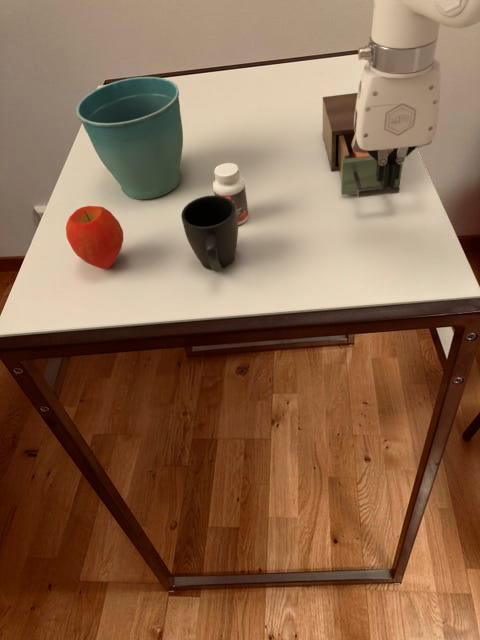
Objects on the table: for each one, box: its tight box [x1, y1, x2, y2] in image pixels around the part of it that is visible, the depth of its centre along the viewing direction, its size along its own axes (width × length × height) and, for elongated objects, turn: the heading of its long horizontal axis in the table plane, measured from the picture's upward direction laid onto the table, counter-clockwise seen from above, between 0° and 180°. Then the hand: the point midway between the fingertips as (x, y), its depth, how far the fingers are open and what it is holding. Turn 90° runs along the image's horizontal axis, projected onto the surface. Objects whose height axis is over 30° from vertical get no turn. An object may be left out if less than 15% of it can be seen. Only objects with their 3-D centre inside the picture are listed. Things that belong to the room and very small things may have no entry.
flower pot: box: [75, 76, 184, 200], centre depth 94 cm, size 18×18×17 cm
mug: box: [180, 194, 239, 273], centre depth 78 cm, size 8×12×10 cm
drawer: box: [336, 133, 403, 198], centre depth 88 cm, size 19×10×6 cm, turn 1°
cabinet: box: [322, 92, 358, 172], centre depth 97 cm, size 14×11×8 cm
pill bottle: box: [212, 162, 250, 226], centre depth 86 cm, size 5×5×10 cm
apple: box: [65, 205, 124, 270], centre depth 81 cm, size 9×8×11 cm
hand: (386, 183), depth 75 cm, fingers closed
